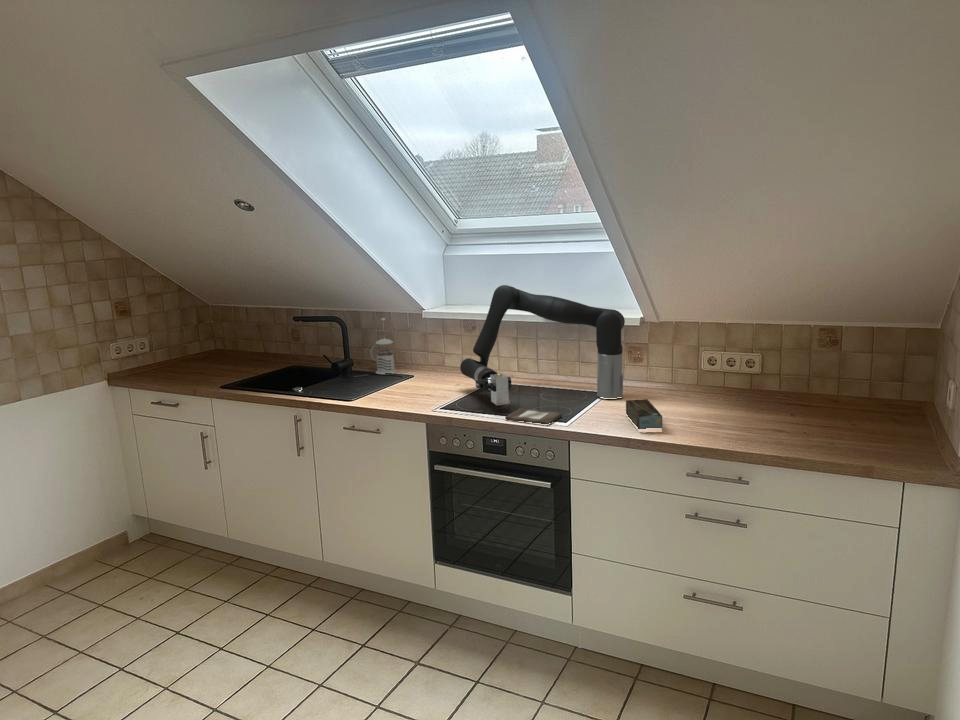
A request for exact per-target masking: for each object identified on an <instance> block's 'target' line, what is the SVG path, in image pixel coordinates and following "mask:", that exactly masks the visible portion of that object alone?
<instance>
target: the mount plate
mask: <svg viewBox="0 0 960 720" xmlns="http://www.w3.org/2000/svg"><path fill="white" fill-rule="evenodd" d="M562 415H563V414H562V413H561V412H555V411H554V412H553V411H546V410H541V409H540V410H539V409H533V408H532V409H531V408H530V409H529V408H522V407H520V408H518V409H516V410H514V411H512V412H511V413H510V414H508V415H506V416H505V418H504V419H507V420H513V421H512V422H514V421H524V422H532V423H541V424H549V423H552V422H553V421H555V420H556V421H558V420H559V419H560V418H562V417H561V416H562ZM558 418H559V419H558ZM557 419H558V420H557ZM507 420H506V421H507ZM556 421H555V422H556ZM553 423H554V422H553ZM553 423H552V424H553Z"/></svg>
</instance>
